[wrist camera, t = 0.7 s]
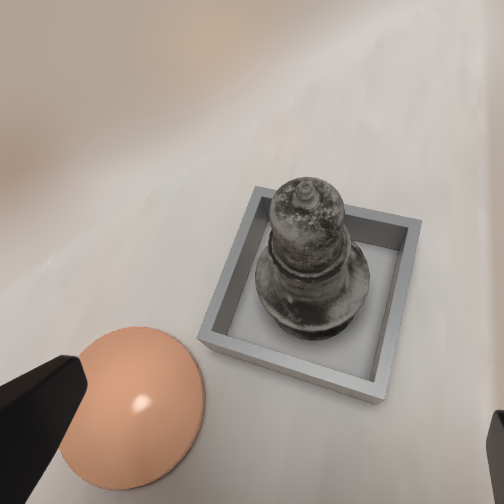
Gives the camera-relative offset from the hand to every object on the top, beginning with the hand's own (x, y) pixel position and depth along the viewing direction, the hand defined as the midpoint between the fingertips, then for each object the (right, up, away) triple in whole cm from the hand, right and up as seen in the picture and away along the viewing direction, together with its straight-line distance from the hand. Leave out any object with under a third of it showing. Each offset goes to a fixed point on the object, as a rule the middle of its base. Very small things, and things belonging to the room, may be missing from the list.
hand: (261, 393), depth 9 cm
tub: (+3, 0, +16) cm, 16 cm away
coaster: (-7, -6, +15) cm, 17 cm away
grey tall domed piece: (+3, 0, +16) cm, 16 cm away
